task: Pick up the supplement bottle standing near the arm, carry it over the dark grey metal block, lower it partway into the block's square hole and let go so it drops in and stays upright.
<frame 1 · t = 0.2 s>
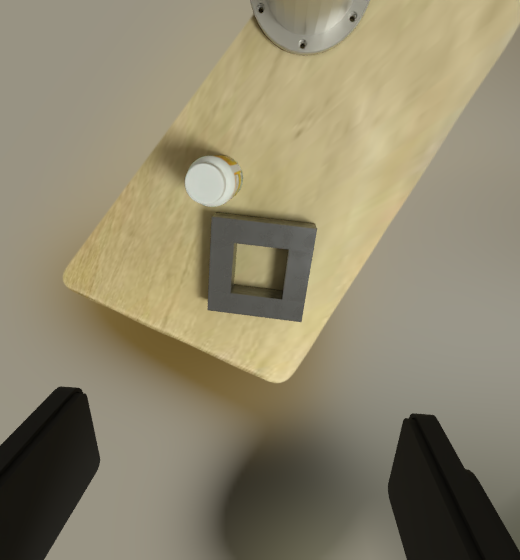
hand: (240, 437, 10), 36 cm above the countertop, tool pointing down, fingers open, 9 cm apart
square hole block: (260, 264, 46), on the countertop
supplement bottle: (222, 177, 42), on the countertop
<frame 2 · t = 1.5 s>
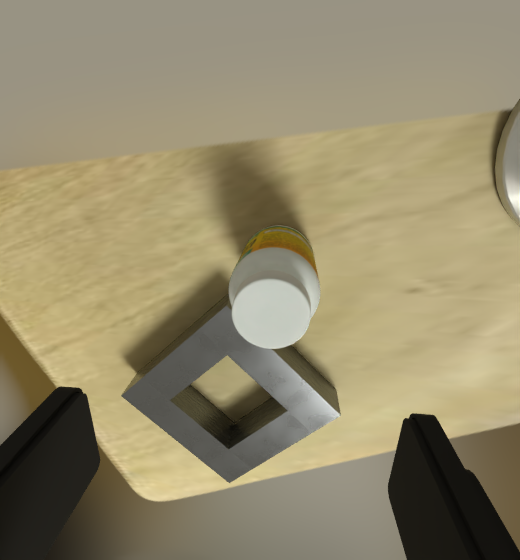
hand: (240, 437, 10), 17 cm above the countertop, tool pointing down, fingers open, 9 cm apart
square hole block: (234, 381, 30), on the countertop
supplement bottle: (278, 257, 25), on the countertop
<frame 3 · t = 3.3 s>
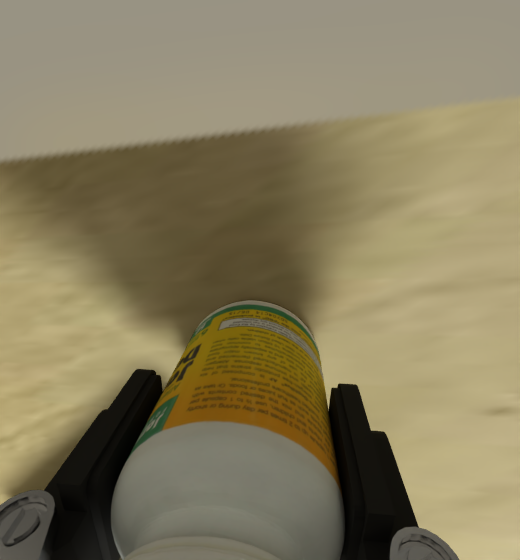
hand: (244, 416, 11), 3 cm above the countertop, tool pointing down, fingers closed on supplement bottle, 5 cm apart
supplement bottle: (255, 351, 14), on the countertop, touching gripper
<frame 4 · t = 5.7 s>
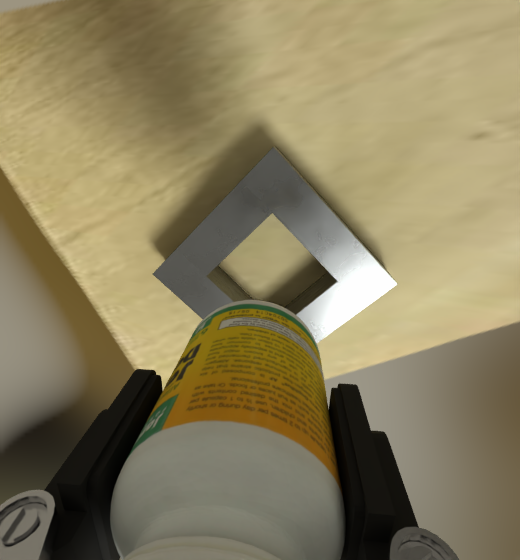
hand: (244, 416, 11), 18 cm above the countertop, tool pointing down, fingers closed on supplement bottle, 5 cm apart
square hole block: (273, 265, 27), on the countertop
supplement bottle: (255, 350, 14), point 14 cm above the countertop, touching gripper
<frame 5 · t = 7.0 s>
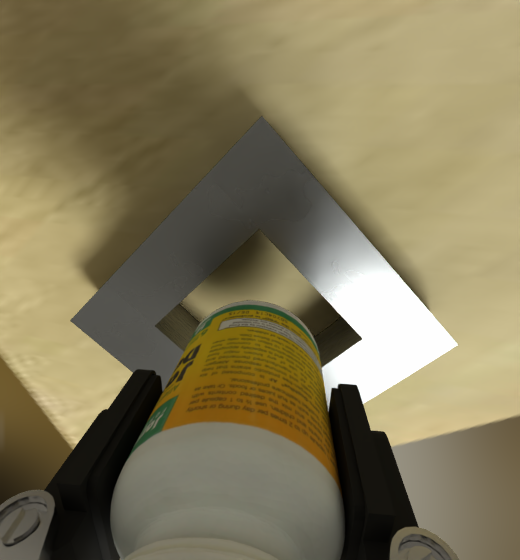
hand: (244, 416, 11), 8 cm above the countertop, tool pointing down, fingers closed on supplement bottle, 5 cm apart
square hole block: (261, 304, 18), on the countertop
supplement bottle: (255, 351, 14), point 5 cm above the countertop, touching gripper
when the fingers open (4 cm above the countertop, at t = 8.3 s): supplement bottle stays where it is, resting in square hole block.
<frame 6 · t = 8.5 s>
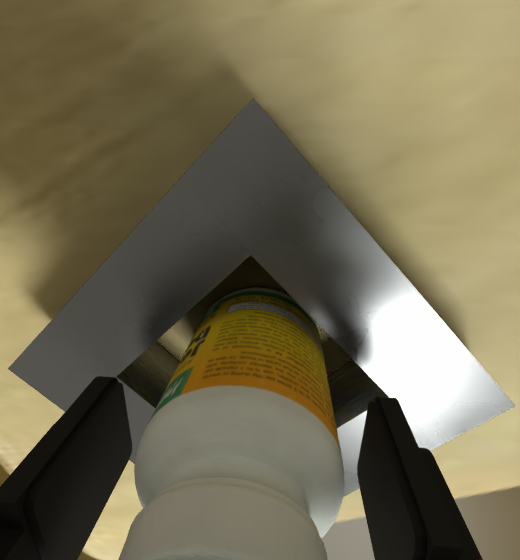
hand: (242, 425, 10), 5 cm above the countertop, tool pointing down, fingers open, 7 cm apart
square hole block: (256, 341, 15), on the countertop
supplement bottle: (259, 336, 15), resting in square hole block
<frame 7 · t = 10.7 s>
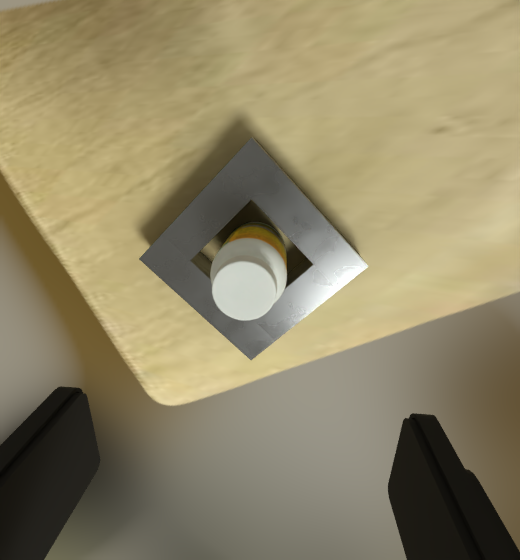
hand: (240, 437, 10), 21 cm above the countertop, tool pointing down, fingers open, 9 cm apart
square hole block: (254, 252, 29), on the countertop
supplement bottle: (256, 250, 29), resting in square hole block
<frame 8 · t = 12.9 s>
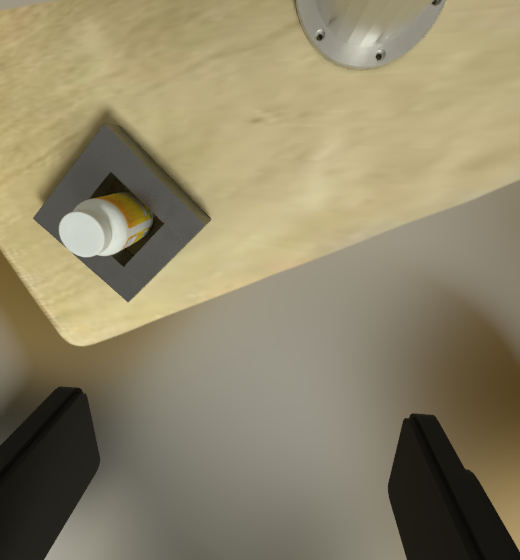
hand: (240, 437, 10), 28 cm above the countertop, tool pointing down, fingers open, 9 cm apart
square hole block: (130, 216, 37), on the countertop
supplement bottle: (132, 214, 37), resting in square hole block
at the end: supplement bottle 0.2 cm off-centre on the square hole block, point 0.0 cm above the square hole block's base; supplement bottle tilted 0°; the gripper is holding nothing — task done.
